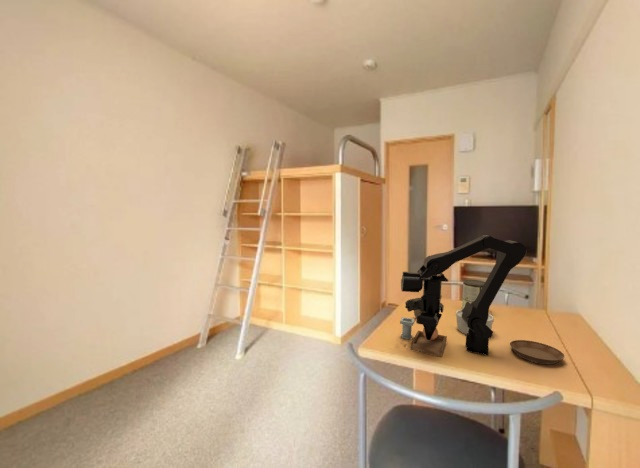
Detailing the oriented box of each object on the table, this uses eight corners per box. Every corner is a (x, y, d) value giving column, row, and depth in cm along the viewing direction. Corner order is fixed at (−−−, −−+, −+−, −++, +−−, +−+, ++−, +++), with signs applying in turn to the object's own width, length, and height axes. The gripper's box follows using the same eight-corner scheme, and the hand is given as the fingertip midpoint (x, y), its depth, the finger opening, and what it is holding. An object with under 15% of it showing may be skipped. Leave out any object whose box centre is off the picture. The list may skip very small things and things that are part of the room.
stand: (413, 335, 118) (414, 319, 117) (412, 340, 114) (413, 323, 113) (401, 333, 120) (402, 317, 119) (399, 338, 116) (400, 321, 115)
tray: (446, 342, 113) (446, 336, 113) (441, 357, 102) (442, 350, 101) (417, 336, 118) (418, 330, 118) (410, 349, 106) (410, 343, 106)
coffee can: (462, 306, 154) (464, 278, 152) (486, 310, 148) (488, 281, 147) (459, 312, 145) (461, 282, 144) (484, 317, 140) (487, 286, 138)
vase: (427, 323, 131) (428, 303, 130) (411, 319, 135) (412, 299, 134) (432, 319, 136) (433, 299, 135) (416, 315, 140) (417, 296, 139)
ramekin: (453, 334, 121) (454, 316, 120) (456, 322, 132) (457, 306, 132) (492, 341, 115) (494, 323, 114) (492, 329, 126) (493, 312, 125)
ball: (442, 331, 109) (432, 319, 111) (439, 337, 105) (429, 325, 107) (431, 338, 112) (421, 327, 113) (428, 344, 108) (418, 332, 109)
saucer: (513, 342, 114) (513, 335, 114) (564, 356, 105) (565, 348, 105) (505, 357, 103) (506, 349, 103) (562, 373, 94) (563, 364, 93)
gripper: (413, 283, 120) (411, 323, 121) (401, 296, 103) (399, 341, 105) (444, 288, 115) (442, 329, 116) (437, 301, 98) (434, 349, 100)
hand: (429, 336), depth 109 cm, fingers closed on ball, 5 cm apart
